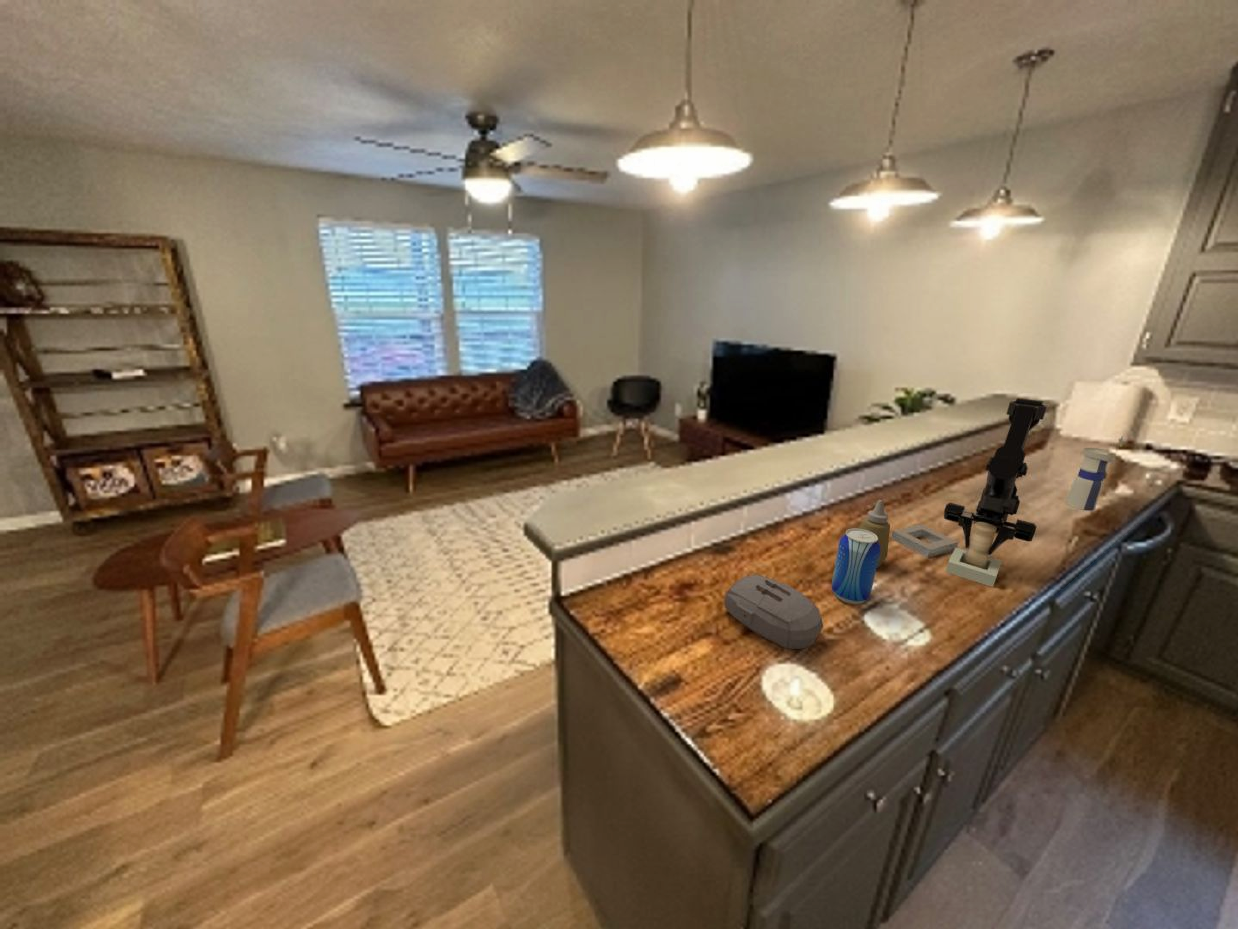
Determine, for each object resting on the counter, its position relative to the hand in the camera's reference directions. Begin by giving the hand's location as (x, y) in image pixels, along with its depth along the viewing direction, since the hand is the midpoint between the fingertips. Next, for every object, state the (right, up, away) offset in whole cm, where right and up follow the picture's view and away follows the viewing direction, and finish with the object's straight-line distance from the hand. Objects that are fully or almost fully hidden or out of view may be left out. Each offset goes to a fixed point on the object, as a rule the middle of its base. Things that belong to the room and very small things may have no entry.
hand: (977, 550), depth 124 cm
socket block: (-4, -1, +16) cm, 17 cm away
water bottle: (+66, +8, +43) cm, 79 cm away
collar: (+1, -6, +3) cm, 7 cm away
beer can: (-36, -9, -7) cm, 38 cm away
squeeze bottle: (-24, -5, +7) cm, 26 cm away
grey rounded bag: (-57, -13, -17) cm, 60 cm away
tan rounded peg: (+1, -6, +3) cm, 7 cm away
